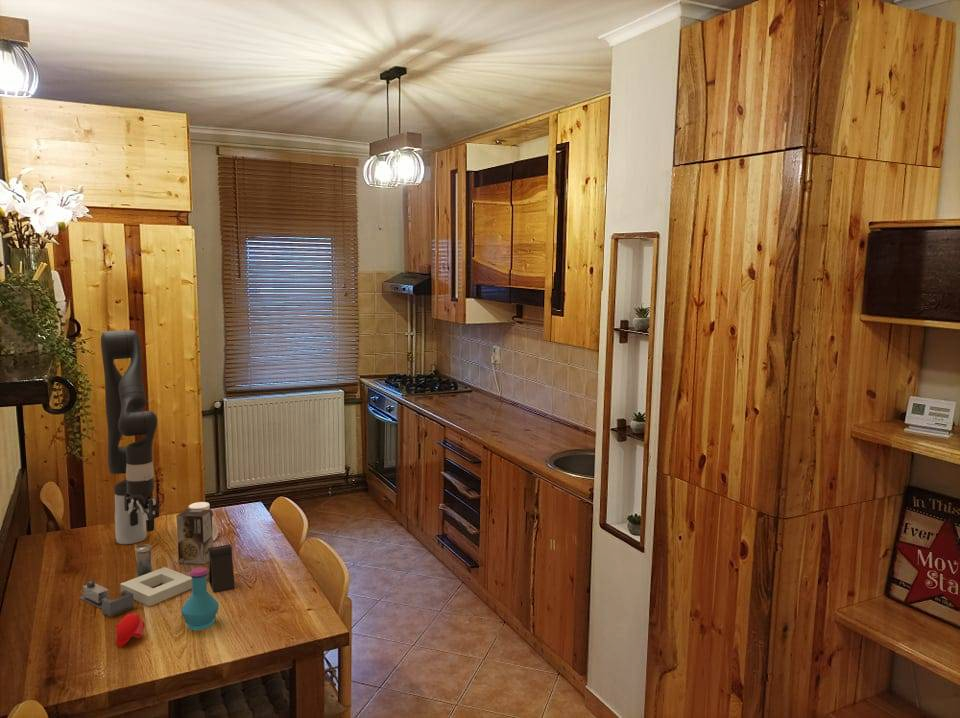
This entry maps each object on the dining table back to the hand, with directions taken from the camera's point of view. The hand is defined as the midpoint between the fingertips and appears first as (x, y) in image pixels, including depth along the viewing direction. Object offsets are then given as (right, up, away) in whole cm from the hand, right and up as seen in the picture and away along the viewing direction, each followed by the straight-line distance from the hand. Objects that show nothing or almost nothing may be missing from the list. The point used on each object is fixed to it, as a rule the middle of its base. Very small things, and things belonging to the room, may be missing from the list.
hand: (142, 528), depth 210 cm
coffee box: (+11, -14, +14) cm, 22 cm away
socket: (+9, -16, -8) cm, 20 cm away
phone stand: (+26, -16, -4) cm, 31 cm away
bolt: (-6, -17, -15) cm, 23 cm away
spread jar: (+6, -12, +32) cm, 35 cm away
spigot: (0, -15, +2) cm, 15 cm away
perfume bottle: (+29, -19, -27) cm, 44 cm away
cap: (+14, -20, -35) cm, 43 cm away
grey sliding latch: (-3, -17, -17) cm, 24 cm away
